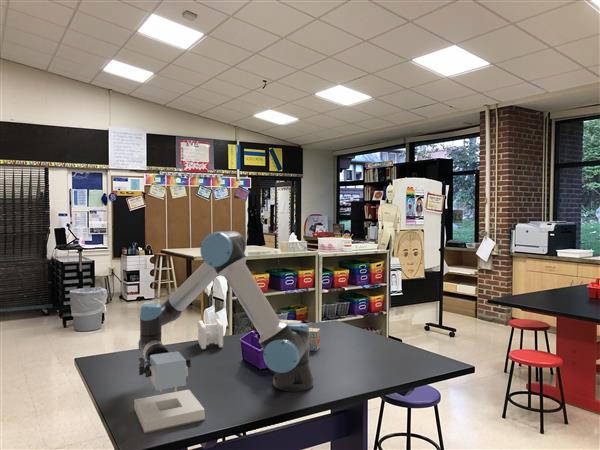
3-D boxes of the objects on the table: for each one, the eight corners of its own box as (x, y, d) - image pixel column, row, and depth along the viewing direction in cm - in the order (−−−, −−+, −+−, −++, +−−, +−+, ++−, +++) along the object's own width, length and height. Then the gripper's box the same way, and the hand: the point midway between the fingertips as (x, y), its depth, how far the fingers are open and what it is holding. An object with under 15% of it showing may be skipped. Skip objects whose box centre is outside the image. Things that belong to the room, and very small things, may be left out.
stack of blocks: (320, 347, 219) (320, 322, 219) (316, 351, 213) (316, 325, 213) (278, 343, 226) (278, 318, 226) (273, 347, 220) (273, 321, 220)
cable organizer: (223, 349, 216) (223, 324, 216) (200, 351, 213) (200, 326, 212) (218, 340, 230) (218, 317, 230) (197, 342, 227) (196, 319, 226)
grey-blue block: (185, 393, 145) (185, 360, 144) (156, 398, 140) (156, 364, 140) (178, 382, 153) (178, 351, 153) (150, 387, 149) (150, 355, 149)
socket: (204, 420, 143) (204, 409, 143) (144, 433, 135) (144, 421, 135) (189, 399, 159) (189, 389, 159) (134, 410, 150) (134, 399, 150)
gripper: (186, 360, 168) (205, 380, 148) (123, 369, 157) (134, 393, 137) (186, 339, 167) (205, 357, 148) (123, 347, 157) (134, 368, 137)
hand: (171, 374), depth 142 cm, fingers closed on grey-blue block, 9 cm apart
